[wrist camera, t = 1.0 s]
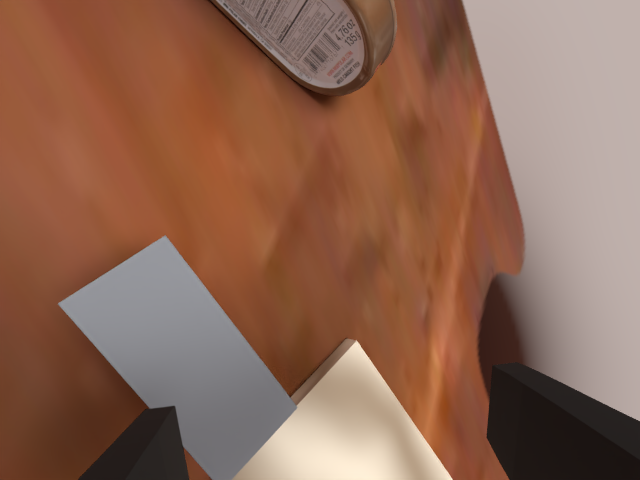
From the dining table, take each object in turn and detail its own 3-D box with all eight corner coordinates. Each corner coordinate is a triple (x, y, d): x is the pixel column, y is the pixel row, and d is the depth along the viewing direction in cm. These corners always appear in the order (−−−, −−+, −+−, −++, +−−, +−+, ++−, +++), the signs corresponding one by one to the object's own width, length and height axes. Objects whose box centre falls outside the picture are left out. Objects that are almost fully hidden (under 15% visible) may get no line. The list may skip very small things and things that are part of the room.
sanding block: (194, 434, 19) (221, 490, 13) (77, 299, 17) (57, 303, 12) (253, 377, 21) (297, 407, 15) (153, 250, 19) (165, 235, 14)
